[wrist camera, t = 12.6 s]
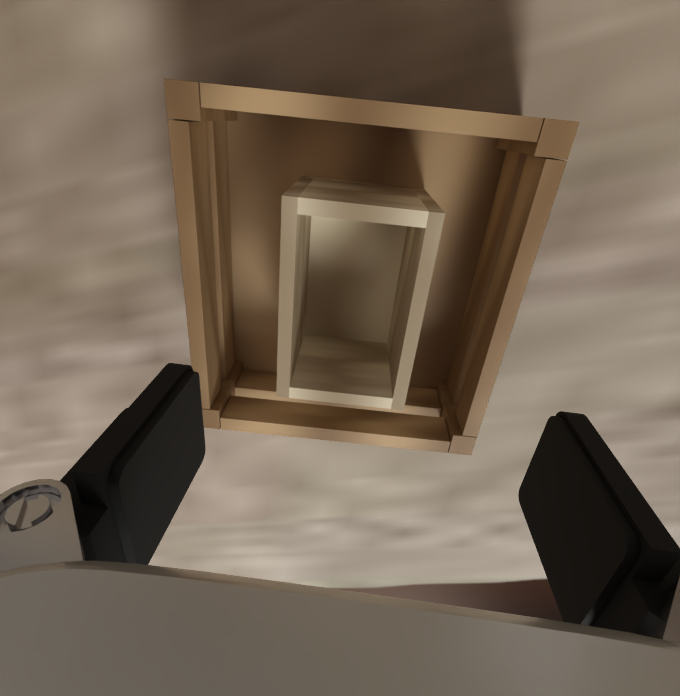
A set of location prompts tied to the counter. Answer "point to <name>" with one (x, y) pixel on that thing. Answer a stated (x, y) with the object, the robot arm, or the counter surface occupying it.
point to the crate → (370, 167)
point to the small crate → (353, 289)
